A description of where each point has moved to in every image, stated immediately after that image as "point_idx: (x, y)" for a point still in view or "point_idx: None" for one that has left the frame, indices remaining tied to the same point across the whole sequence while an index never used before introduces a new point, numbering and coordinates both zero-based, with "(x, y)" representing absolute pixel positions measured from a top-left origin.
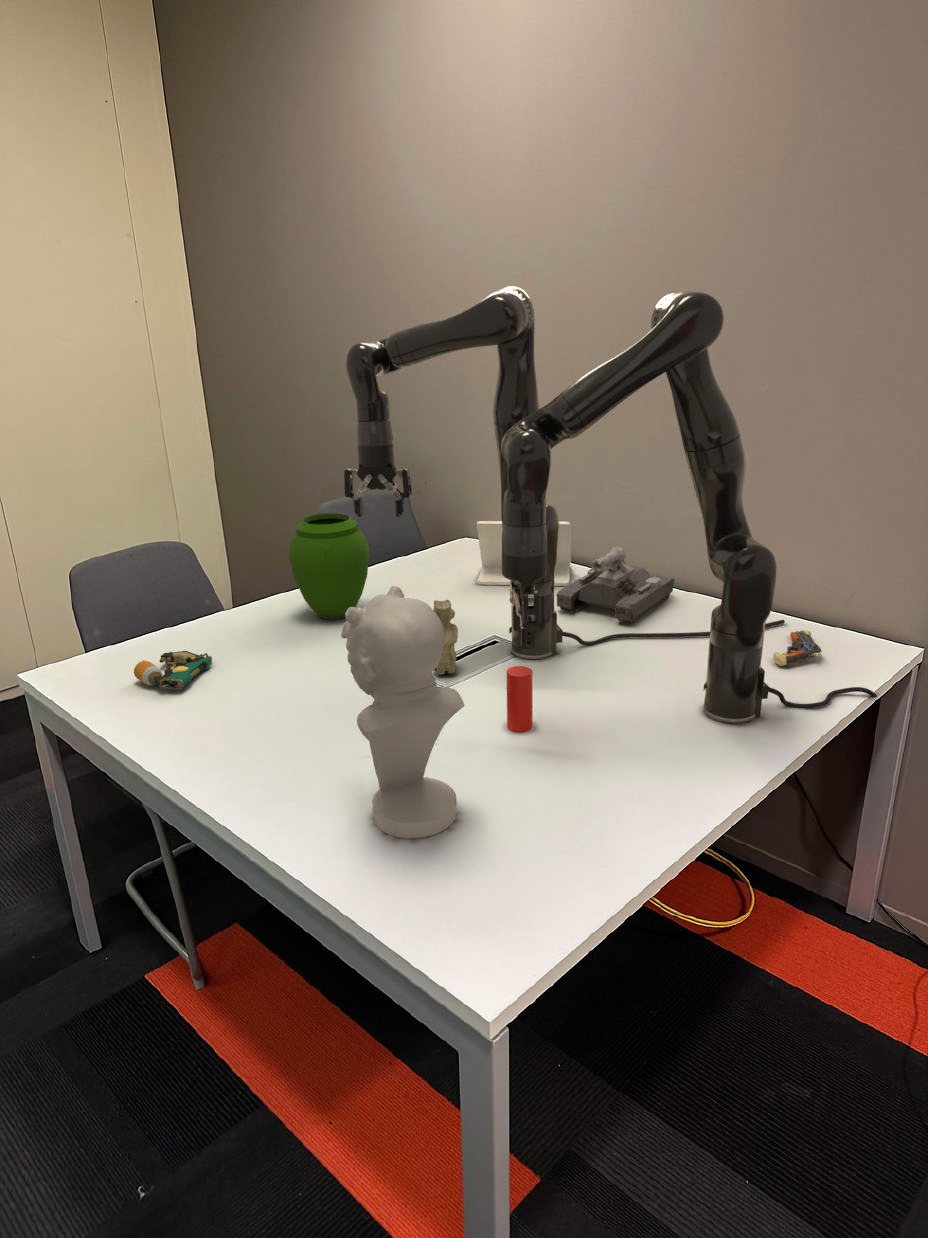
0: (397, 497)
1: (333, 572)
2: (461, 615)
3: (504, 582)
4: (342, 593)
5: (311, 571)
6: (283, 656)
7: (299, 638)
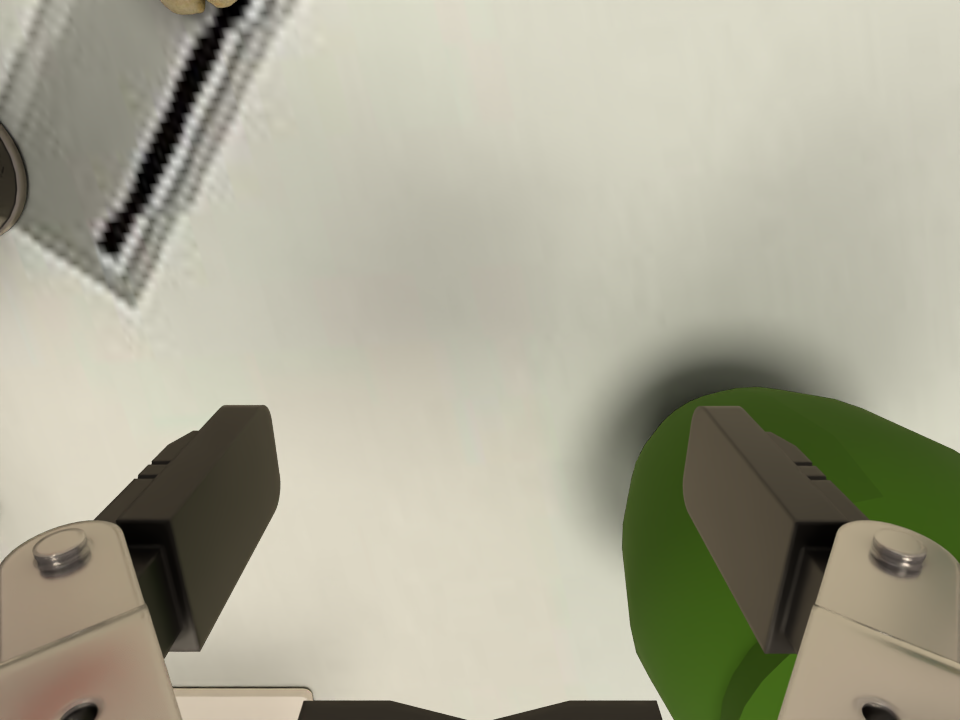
0: (84, 555)
1: (768, 430)
2: (291, 462)
3: (225, 695)
4: None
5: (881, 423)
6: (840, 48)
7: (801, 230)
